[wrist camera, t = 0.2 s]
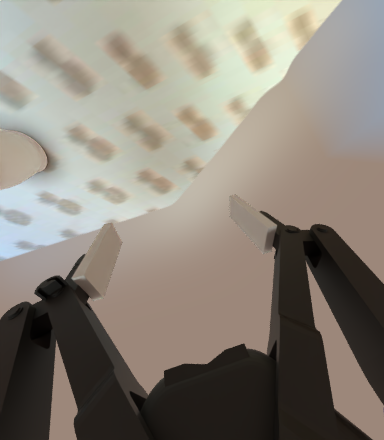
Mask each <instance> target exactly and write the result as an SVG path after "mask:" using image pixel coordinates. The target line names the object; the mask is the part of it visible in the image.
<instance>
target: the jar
mask: <svg viewBox="0 0 384 440" xmlns="http://www.w3.org/2000/svg"><path fill="white" fill-rule="evenodd" d="M46 166H47V156H46V154H45V152H44V150H43V149H42V147H41V146H40V145H39V144H38V143H37V142H36V141H35V140H34V139H32V138H31V137H29V136H27V135H25V134H23V133H21V132H17V131H12V130H4V129H0V190H2V189H6V188H10V187H13V186H15V185H18V184H20V183H22V182H23V181H25V180H26V179H28V178H30V177H31V176H33V175H34V174H35V173H37V172H40V171H42V170H44V169H45V167H46Z"/></svg>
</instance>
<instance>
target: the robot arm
mask: <svg viewBox="0 0 384 440" xmlns="http://www.w3.org/2000/svg"><path fill="white" fill-rule="evenodd" d="M230 217H231V219H232V220H233V221H234V222H235V223H236V224H237V225H238V226H239V227H240V229H241V230H242V231H243V232H244V233H245V234H246V235H247V236H248V237H249V239H250V240H251V241H252V242H253V243H254V244H255V245H256V246H257V248H259V250H260V251H261V252H262V253H263V254H264V253H268V252H271V251H272V247H274V248H275V249H276V251H275V256H274V259H275V264H274V278H273V292H272V306H271V321H270V334H269V342H268V348H267V355H266V354H264V353H262V352H260V351H257V350H253V349H246V347H245V344H241V345H238V346H235V347H233V348H229V349H226V350H224V352H222V353H221V354H219V355H218V356H217V357H216V358H214V359H213V360H212V361H211V362H209V363H208V364H182V365H179V366H177V367H174V368H171V369H168V370H165V371H164V378H163V379H161V380H160V381H159V383H157V385H156V386H155V387H154V388H153V389H152V391H151V393H150V394H149V395H148V394H147V393H146V391H145V390H144V389H143V388H142V386H141V385H140V384H139V383H138V382H137V380H136V379H135V377H134V375H133V374H132V372H131V371H130V369H129V367H128V366H127V364H126V363H125V361H124V359H123V358H122V356H121V354H120V353H119V351H118V350H117V348H116V347H115V345H114V343H113V342H112V340H111V339H110V337H109V335H108V334H107V332H106V331H105V329H104V327H103V326H102V324H101V323H100V321H99V319H98V318H97V316H96V314H95V313H94V311H93V310H92V308H91V306H90V305H89V304H88V303H87V300H88V298H89V297H90V298H91V299H92V300H93V301H95V300H99V299H102V298H104V296H105V293H106V290H107V287H108V284H109V281H110V278H111V275H112V272H113V269H114V266H115V263H116V260H117V257H118V254H119V251H120V248H121V245H122V241H121V239H120V237H119V235H118V234H117V231H116V230H115V228H114V226H113V224H112V223H108V224H104V225H103V227H102V229H101V230H100V232H99V234H98V235H97V237H96V239H95V240H94V242H93V243H92V245H91V247H90V248H89V250H88V252H87V253H86V254H84V255H82V256H81V257H80V258H79V259H78V261H77V262H76V263H75V266H74V267H73V268H72V270H71V271H70V273H69V275H68V276H67V277H66V279H65V280H64V279H63V278H62V277H60V276H53V277H51V278H49V279H47V280H45V281H44V282H42V283H41V284H40V285H39V286H38V287H37V289H36V290H35V294H36V295H37V296H38V297H40V298H41V299H42V300H41V301H39V302H37V303H35V304H33V305H32V304H30V303H29V302H22V303H20V304H18V305H16V306H14V307H12V308H11V309H10V310H8V311H7V312H6V313H5V314H4V315H3V316H2V318H1V319H0V440H49V430H50V416H51V402H52V389H53V375H54V361H55V347H56V340H57V343H58V347H59V350H60V353H61V356H62V359H63V363H64V366H65V369H66V372H67V376H68V379H69V382H70V385H71V388H72V391H73V395H74V398H75V401H76V404H77V408H78V413H77V415H76V417H75V418H74V428H75V433H76V437H77V440H372V439H371V438H370V437H369V436H367V435H366V434H365V433H364V432H362V431H361V430H360V429H359V428H358V427H356V426H355V425H354V424H353V423H351V422H350V421H349V420H348V419H346V418H345V417H344V416H343V415H341V414H340V413H339V412H338V411H336V410H335V409H334V405H333V399H332V393H331V387H330V381H329V375H328V369H327V364H326V357H325V352H324V345H323V340H322V336H321V334H320V332H319V331H318V330H316V328H315V324H314V317H313V311H312V303H311V296H310V289H309V281H308V274H307V267H306V262H307V264H308V266H309V268H310V270H311V272H312V274H313V275H314V278H315V280H316V281H317V283H318V285H319V287H320V289H321V291H322V293H323V295H324V297H325V299H326V301H327V303H328V305H329V307H330V309H331V311H332V313H333V315H334V317H335V319H336V321H337V322H338V324H339V326H340V328H341V330H342V332H343V334H344V336H345V338H346V340H347V342H348V344H349V346H350V348H351V350H352V352H353V354H354V356H355V358H356V360H357V362H358V364H359V366H360V367H361V369H362V371H363V373H364V374H365V376H366V378H367V380H368V382H369V383H370V385H371V386H372V388H373V389H374V391H375V393H376V394H377V396H378V397H379V398H380V400H381V402H382V403H383V405H384V284H383V283H382V282H381V281H380V280H379V278H377V276H376V275H375V274H374V273H373V272H372V271H371V270H370V269H369V268H368V267H367V265H366V264H365V263H364V262H363V261H362V260H361V259H360V258H359V257H358V256H357V255H356V254H355V253H354V251H353V250H352V249H351V248H350V247H349V246H348V245H347V244H346V243H345V242H344V241H343V239H341V237H340V236H339V235H338V234H337V233H336V232H335V231H334V230H333V229H332V228H331V227H328V226H326V225H322V224H321V225H320V224H315V225H313V226H312V227H311V229H310V230H300V229H299V228H297V227H295V226H290V225H286V226H285V225H284V224H282V223H281V222H279V221H278V220H276V219H275V218H274V217H272V216H271V215H269V214H268V213H266V212H263V211H260V212H259V211H257V210H256V209H255V208H253V207H252V206H251V205H249V204H248V203H246V202H245V201H244V200H242V199H241V198H240V197H238V196H237V195H232V196H230ZM383 412H384V408H383Z"/></svg>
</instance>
